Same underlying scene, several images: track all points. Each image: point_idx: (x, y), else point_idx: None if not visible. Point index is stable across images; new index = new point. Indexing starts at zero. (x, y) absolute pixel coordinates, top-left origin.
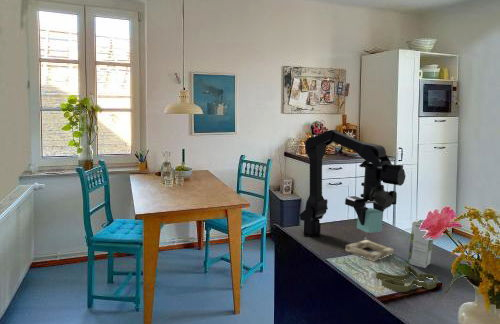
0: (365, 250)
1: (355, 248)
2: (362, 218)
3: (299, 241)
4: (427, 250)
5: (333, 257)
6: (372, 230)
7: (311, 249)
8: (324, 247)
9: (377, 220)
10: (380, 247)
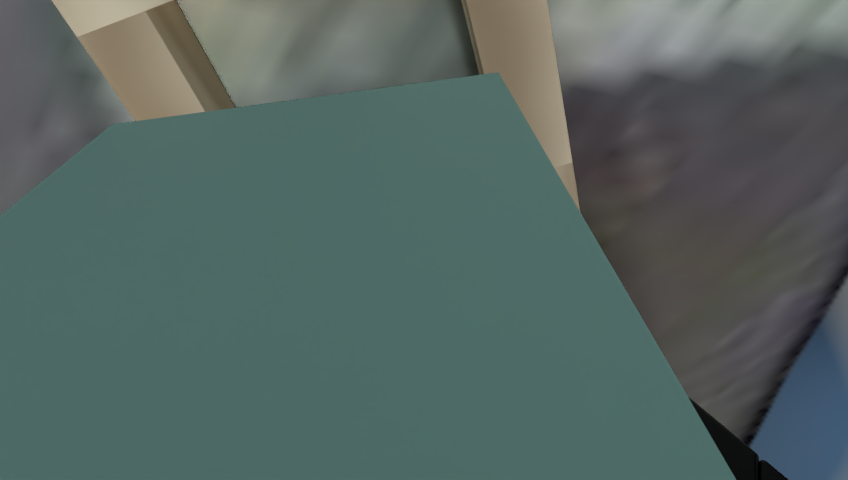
0: (471, 13)
1: (549, 104)
2: (707, 419)
3: (755, 391)
4: None
5: (822, 45)
6: (382, 104)
7: (820, 257)
8: (683, 276)
9: (151, 271)
10: (196, 87)
